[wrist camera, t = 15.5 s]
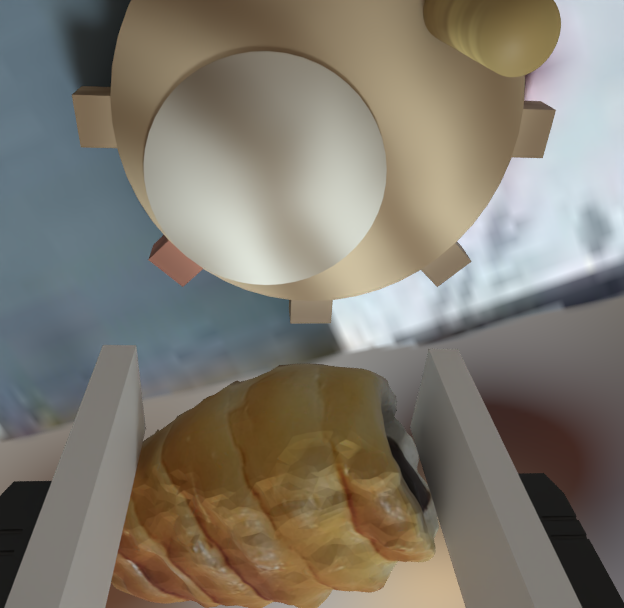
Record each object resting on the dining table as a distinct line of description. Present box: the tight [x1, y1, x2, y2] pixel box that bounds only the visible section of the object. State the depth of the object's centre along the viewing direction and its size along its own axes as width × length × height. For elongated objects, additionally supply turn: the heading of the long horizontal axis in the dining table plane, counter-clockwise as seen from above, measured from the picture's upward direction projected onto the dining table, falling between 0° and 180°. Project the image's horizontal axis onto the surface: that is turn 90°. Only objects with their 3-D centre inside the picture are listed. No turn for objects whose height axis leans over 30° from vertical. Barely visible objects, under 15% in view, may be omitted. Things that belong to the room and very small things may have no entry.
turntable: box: [72, 0, 561, 323], centre depth 23 cm, size 21×21×9 cm
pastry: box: [111, 364, 439, 608], centre depth 15 cm, size 9×7×4 cm
